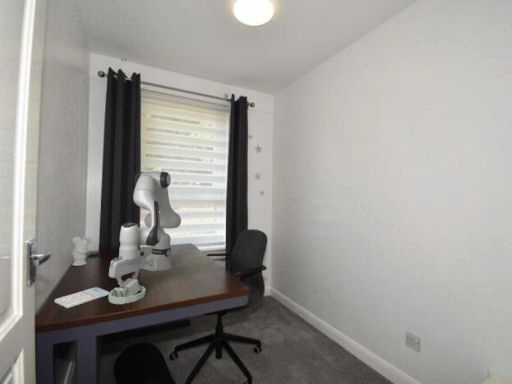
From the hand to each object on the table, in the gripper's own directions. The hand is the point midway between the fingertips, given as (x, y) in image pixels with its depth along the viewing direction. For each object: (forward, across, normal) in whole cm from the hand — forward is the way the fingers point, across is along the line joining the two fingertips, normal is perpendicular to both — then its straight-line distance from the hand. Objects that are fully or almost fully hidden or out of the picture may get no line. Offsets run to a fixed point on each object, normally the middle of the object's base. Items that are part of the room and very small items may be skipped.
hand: (127, 281), depth 130 cm
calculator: (+9, -9, +20) cm, 24 cm away
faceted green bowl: (+8, 0, 0) cm, 8 cm away
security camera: (+6, -5, 0) cm, 8 cm away
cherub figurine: (+8, +32, +78) cm, 85 cm away
